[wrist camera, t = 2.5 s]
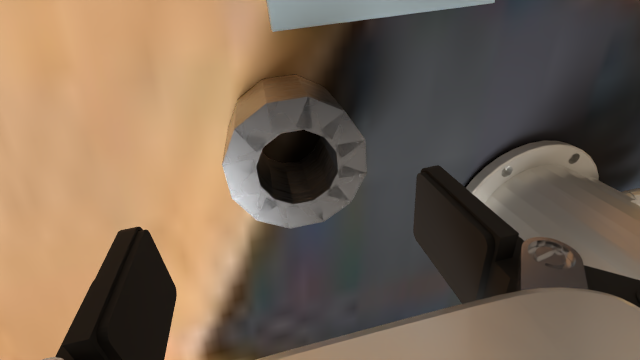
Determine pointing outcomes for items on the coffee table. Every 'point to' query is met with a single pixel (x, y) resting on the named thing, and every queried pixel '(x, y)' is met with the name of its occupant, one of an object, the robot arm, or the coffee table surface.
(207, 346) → the coffee table surface
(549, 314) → the robot arm
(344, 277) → the coffee table surface
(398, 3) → the post board
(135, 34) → the coffee table surface
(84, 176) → the coffee table surface
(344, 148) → the steel collar
